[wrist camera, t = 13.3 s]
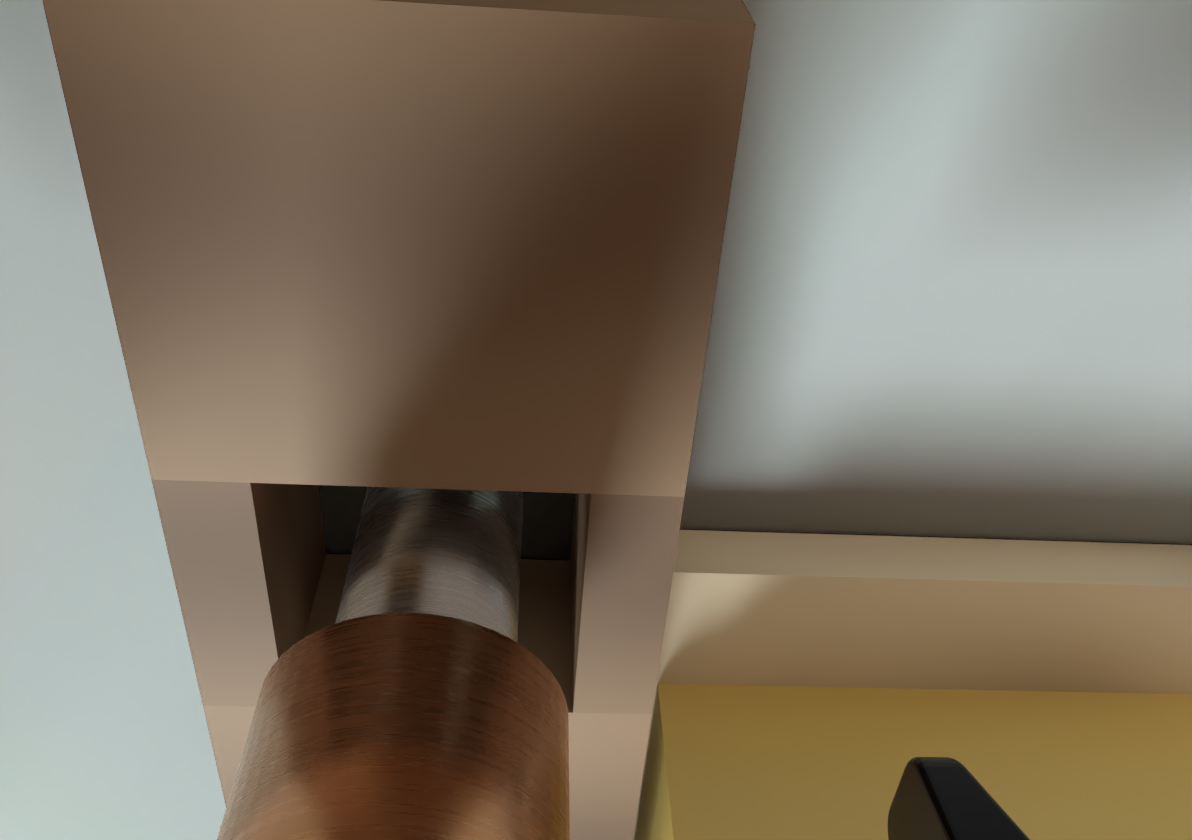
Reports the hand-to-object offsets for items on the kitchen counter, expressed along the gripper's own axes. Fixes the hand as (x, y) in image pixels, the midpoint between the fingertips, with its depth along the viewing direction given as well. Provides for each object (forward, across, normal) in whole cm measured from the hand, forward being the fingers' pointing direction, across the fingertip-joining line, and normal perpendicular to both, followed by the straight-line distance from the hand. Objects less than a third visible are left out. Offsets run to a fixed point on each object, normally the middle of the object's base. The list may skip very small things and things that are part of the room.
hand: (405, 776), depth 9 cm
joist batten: (+4, 0, +2) cm, 5 cm away
